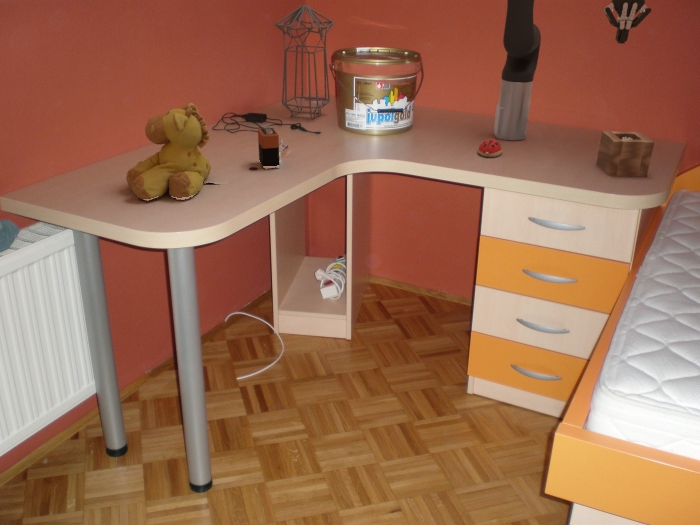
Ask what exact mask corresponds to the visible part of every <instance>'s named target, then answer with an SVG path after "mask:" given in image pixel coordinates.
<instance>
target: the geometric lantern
mask: <svg viewBox="0 0 700 525" xmlns="http://www.w3.org/2000/svg"><path fill="white" fill-rule="evenodd" d="M304 11H305V12H306V15H307V17H308V19H309V21H307V20H303V19H302V18H303V15H304ZM318 16H319V17H318ZM320 17H322V18H323V19H325V20H327V21H322V19H320ZM286 19H287V20H286ZM312 19H313V20H312ZM285 20H286V21H285ZM283 21H285V22H284V23H282V22H283ZM295 21H296V22H297V27H293V25H294V23H295ZM306 24H308V25H310V26H307V25H306ZM314 24H315V25H316V26H314ZM334 25H335V22H334V21H333V20H331V19H330V18H328V17H326V16H325V15H323V14H322V13H319V12H318V11H317V10H315V9H313V8H311V7H310V6H308V5H307V4H303V5H302V4H301V5H300V6H298V8H296V9H294V10H292V11H291V12H290V13H288V14H287V15H286V16H284V17H282V18H281V19H280V20H278V21H277V22H275V23H274V24H273V26H275V27H277V29H279V30H280V31H281V32H282V38H283V41H282V42H283V43H282V44H283V51H284V53H283V54H284V56H283V73H282V95H281V104H282V105H283V106H284V107H285V108H286V109H287V110H289V111H290V118H297V119H309V120H310V119H311V120H314V119H316V118H318V117H319V116H321V115H322V108H324V107H325V106H326V105H327V104H329V103H330V101H331V98H330V96H331V94H330V85H329V84H330V83H329V82H330V81H329V74H328V73H329V71H328V70H329V69H328V60H327V47H326V46H327V34H328V33H329V32H330V30H331V29H332V27H333V26H334ZM300 26H302V27H300ZM285 28H286V30H285ZM313 29H317V31H315V30H313ZM292 30H294V31H295V32H296V35H293V32H291V31H292ZM299 30H305V31H304V32H302V33H301V34H299V33H298V31H299ZM323 30H325V31H324V32H325V33H324V34H323ZM310 33H314V34H318V35H319V36H320V38H319V41H318V43H317V45H316V46H313V45H305V42H306V41H307V38H308V37H309V35H310ZM285 34H286V35H287V36H288V37H289V38H290V41H289V43H288V46H287V47H286V38H285V37H286V35H285ZM305 34H306V36H305V37H304V39H303V40H302V38H301V37H302V36H304V35H305ZM296 38H297V39H299V41H300V43H301V45H299V42H297V39H296ZM293 39H294V41H295V43H296V45H295V44H294V45H293V46H290V45H291V43H292V41H293ZM323 39H324V40H323ZM321 41H322V43H323V46H319V45H320V43H321ZM292 48H295V50H290V49H292ZM298 48H301V50H298ZM308 48H313V49H314V51H309V49H308ZM304 49H305V51H304ZM317 49H318V50H317ZM321 51H323V70H324V71H323V74H324V98H323V97H319V96H318V95H319V92H318V91H319V90H318V80H317V79H318V75H317V63H316V62H317V60H316V53H318V52H321ZM287 52H292V53H295V72H294V74H295V75H294V97H292V98H289V99H288V97H287V96H288V94H287V93H288V91H287V89H288V88H287V87H288V86H287V84H288V83H287V81H288V80H287V72H288V71H287V63H288V62H287V59H288V58H287V57H288V56H287V55H288V54H287ZM298 53H300V55H301V60H300V61H301V64H300V65H301V96H297V81H298V80H297V77H298ZM304 54H307V63H308V64H307V65H308V66H307V70H308V73H307V74H308V96H304ZM310 54H313V68H314V83H315V96H316V97H313V96H312V94H311V62H310V61H311V60H310V58H311V57H310ZM297 99H300V105H299V103H298V100H297ZM303 99H307V100H308V101H309V102H308V105H303ZM292 100H294V101H295V103H296V104H289V103H288V102H291V101H292ZM312 100H316V105H315V106H312ZM319 100H321V101H322V102H321V103H320V104H319ZM325 101H326V102H325ZM291 107H292V109H291ZM293 107H294V108H293ZM296 109H297V110H296ZM299 109H300V110H299ZM302 109H308V110H309V111H303V110H302ZM312 109H314V110H313V112H312ZM299 113H300V114H309V115H310V117H309V116H308V117H306V116H297V115H298V114H299ZM312 114H313V115H312ZM295 115H296V116H295Z"/></svg>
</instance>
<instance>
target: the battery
mask: <svg viewBox="0 0 700 525" xmlns="http://www.w3.org/2000/svg"><path fill="white" fill-rule="evenodd" d="M279 136H280V135H279V134H278V132H277V131H276V130H275V128H274V127H272V126H271V125H269V124H268V125H263V126H262V128H258V129H257V139H258V160H260V162H261V164H262V165H263V166H277V165H280V137H279ZM260 162H259V163H260ZM261 164H260V165H261ZM262 165H261V166H262Z"/></svg>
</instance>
